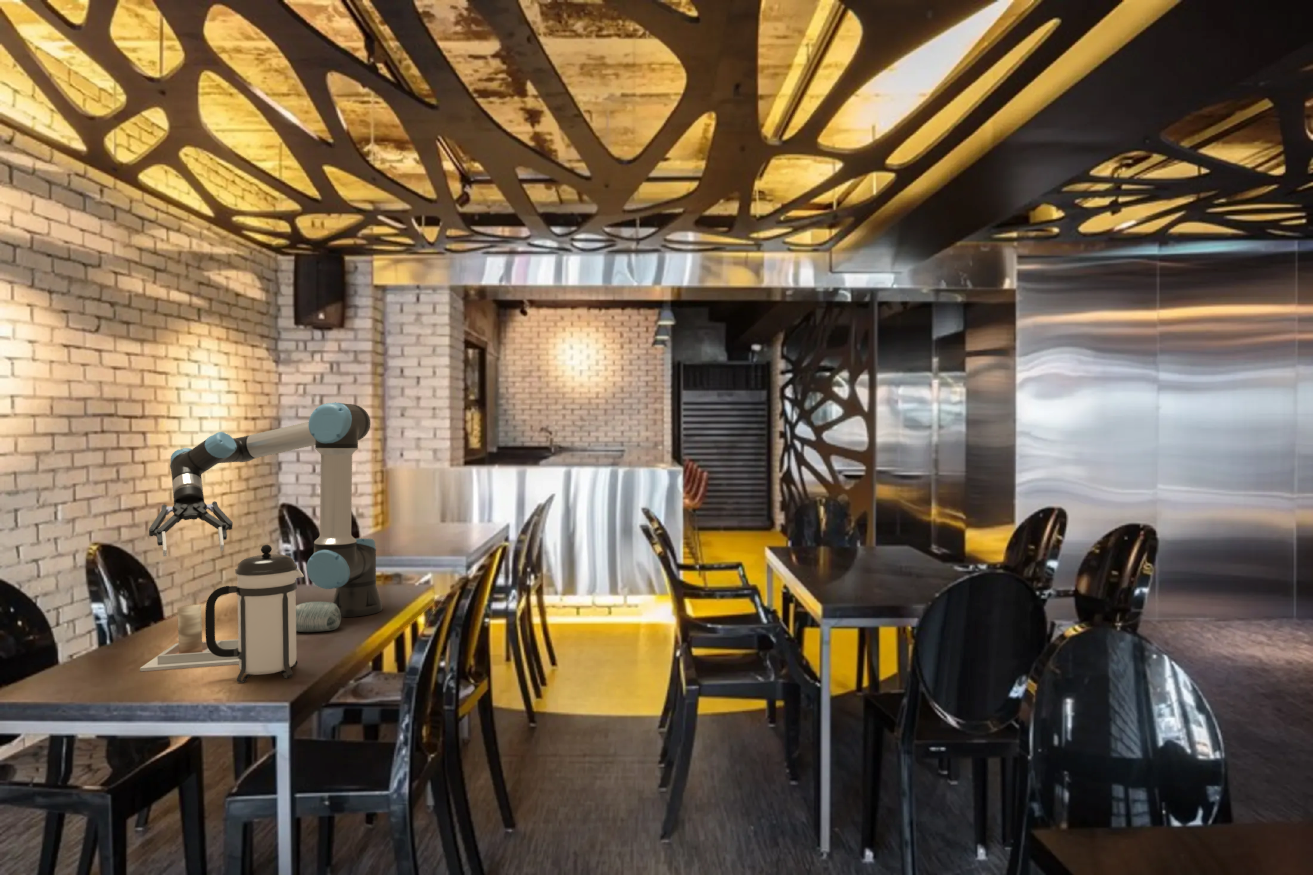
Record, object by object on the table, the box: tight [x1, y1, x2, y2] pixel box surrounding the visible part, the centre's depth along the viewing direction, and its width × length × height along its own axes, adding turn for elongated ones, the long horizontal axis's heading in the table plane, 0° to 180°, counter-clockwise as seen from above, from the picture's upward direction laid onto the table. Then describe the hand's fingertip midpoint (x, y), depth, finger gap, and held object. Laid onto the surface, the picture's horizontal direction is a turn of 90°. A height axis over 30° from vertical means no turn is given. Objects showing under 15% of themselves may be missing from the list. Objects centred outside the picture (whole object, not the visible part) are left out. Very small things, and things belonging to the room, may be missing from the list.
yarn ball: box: [296, 601, 342, 633], centre depth 221 cm, size 14×10×10 cm
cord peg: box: [176, 604, 203, 654], centre depth 193 cm, size 5×5×12 cm
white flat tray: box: [139, 638, 239, 672], centre depth 195 cm, size 26×16×3 cm, turn 103°
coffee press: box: [204, 544, 304, 684], centre depth 180 cm, size 17×16×30 cm
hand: (194, 550), depth 215 cm, fingers open, 13 cm apart
